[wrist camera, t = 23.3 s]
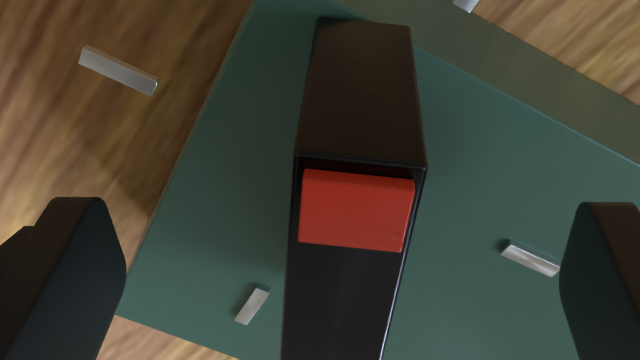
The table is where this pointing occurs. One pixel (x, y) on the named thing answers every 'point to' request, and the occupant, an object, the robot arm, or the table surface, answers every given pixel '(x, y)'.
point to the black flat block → (352, 191)
